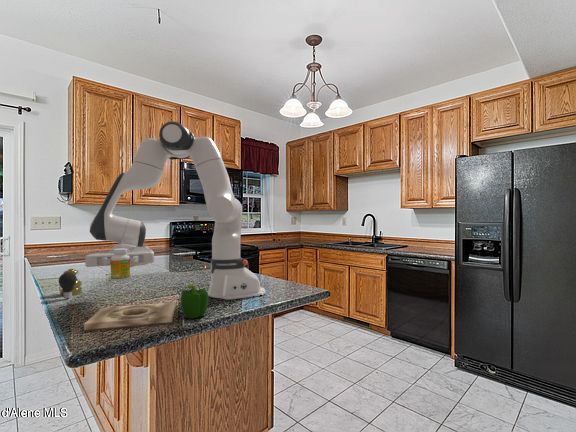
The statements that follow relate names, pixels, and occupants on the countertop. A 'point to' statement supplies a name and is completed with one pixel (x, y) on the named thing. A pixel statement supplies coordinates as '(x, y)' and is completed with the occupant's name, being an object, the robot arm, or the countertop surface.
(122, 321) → the socket board
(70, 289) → the light bulb
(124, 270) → the supplement bottle
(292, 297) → the countertop surface
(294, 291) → the countertop surface
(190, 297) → the bell pepper
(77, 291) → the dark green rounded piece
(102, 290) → the countertop surface
